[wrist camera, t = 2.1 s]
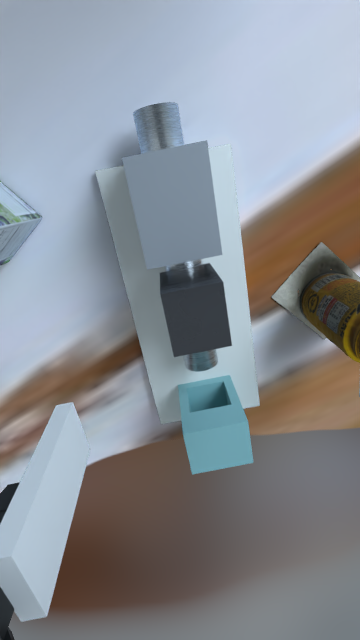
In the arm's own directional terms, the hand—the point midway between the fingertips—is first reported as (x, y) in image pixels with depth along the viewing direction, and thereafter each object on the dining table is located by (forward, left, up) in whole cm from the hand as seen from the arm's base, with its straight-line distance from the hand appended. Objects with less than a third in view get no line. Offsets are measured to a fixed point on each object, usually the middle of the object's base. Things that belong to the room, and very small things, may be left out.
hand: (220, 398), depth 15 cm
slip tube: (-4, 0, -18) cm, 18 cm away
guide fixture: (+2, 0, -20) cm, 20 cm away
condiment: (+4, +14, -20) cm, 25 cm away
